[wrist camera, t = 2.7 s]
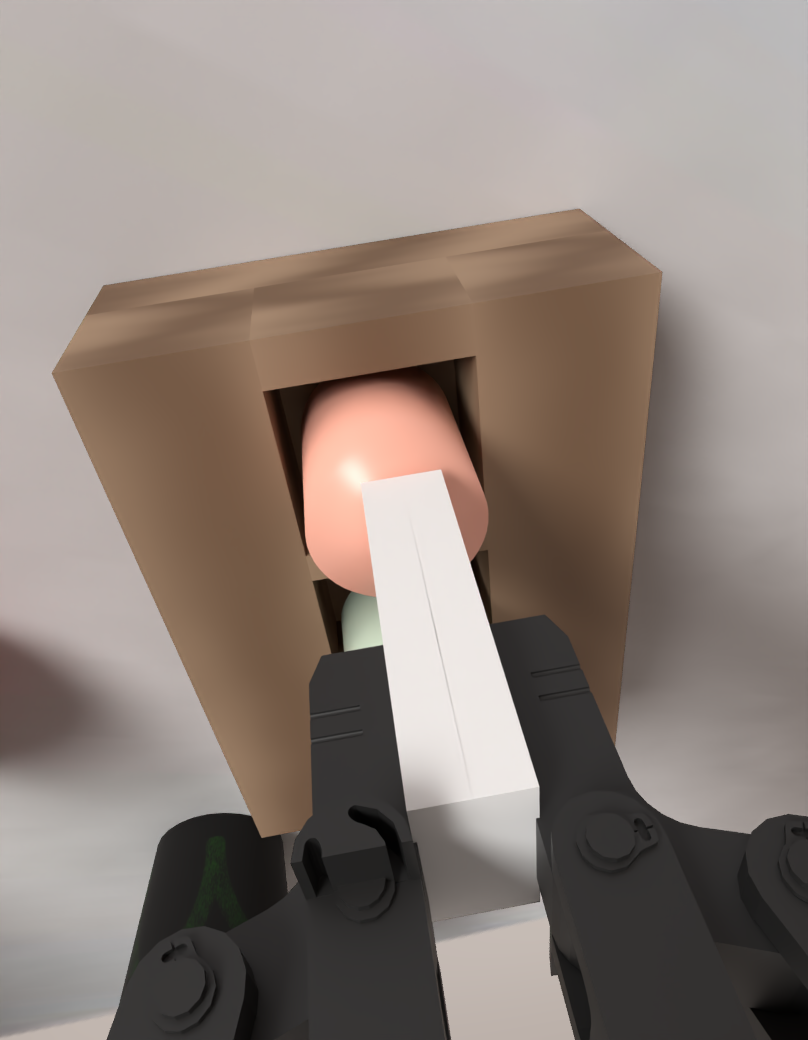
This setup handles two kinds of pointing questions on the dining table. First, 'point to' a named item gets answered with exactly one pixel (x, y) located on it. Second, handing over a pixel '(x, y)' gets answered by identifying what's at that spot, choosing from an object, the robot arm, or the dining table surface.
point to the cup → (209, 879)
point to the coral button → (378, 463)
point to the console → (278, 449)
